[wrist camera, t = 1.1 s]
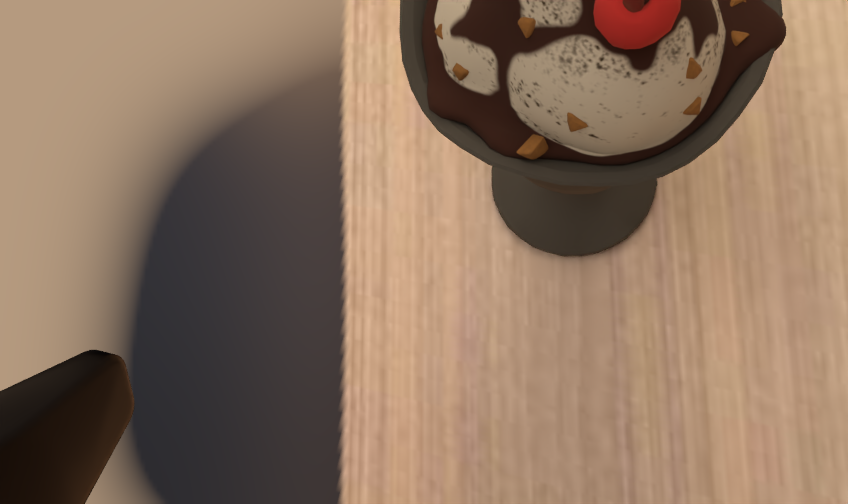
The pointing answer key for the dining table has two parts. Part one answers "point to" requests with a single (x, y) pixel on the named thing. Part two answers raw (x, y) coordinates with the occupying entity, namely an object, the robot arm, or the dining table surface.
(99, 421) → the robot arm
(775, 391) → the dining table surface
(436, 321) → the dining table surface
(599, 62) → the sundae
